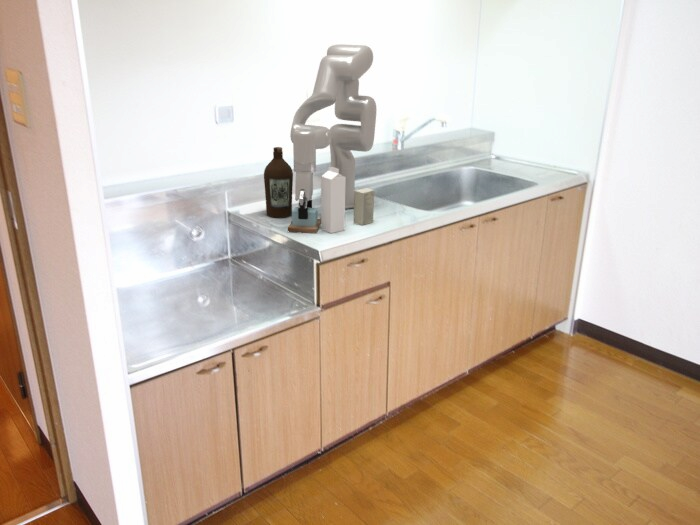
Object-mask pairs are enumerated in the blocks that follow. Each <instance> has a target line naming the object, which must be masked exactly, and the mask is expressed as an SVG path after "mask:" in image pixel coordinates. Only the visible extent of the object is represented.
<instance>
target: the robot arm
mask: <svg viewBox="0 0 700 525" xmlns="http://www.w3.org/2000/svg"><path fill="white" fill-rule="evenodd" d="M373 62H374V53H373V50H372V49H371V47H370V46H367V45H361V44H360V45H359V44H334V45H333V44H332V45H330V46H329V47H328V48H327V50H326V55H325V56H323V57H322V59H321V60H320V62H319V66H318V69H317V74H316V78H315V82H314V86H313V91H312V94H311V96H309V97H308V98H307V99H306V100H305V101H304V102H303V103H302V104H301V105H300V106H299V107H298V109H297V110H296V112H295V113H294V116H293V119H292V122H291V123H292V124H291V128H290V136H289V137H290V141H291V142H292V144H293V147H292V148H293V149H292V150H293V151H292V152H293V173H294V172H295V189H294V190H295V194H294V195H295V198H294V200H295V201H296V202H298V206H297V207H298V218H299V219H308V208H307V207H310V208H313V200H312V198H313V197H312V196H313V194H314V173H315V172H317V155H316V154H317V150H321V149H322V150H323V149H326V148H327V147H329V149H330V150H329V151H330V166H331V167H334V168H337V169H339V174H341V175H342V176H344V177H346V184H345V210H347V209H354V191H355V190H356V189H355V187H356V186H355V183H356V181H355V180H356V179H355V178H356V160H355V157H354V155H353V153H352V151H354V152H364V153H365V152H369V151H371V150H372V148H373V146H374V141H375V132H376V122H377V104H376V101H375V99H374V98H373V97H372V96H369V95H360V94H359V88H360V82H359V81H360V80H359V79H360V78H362V76H364V75H365V74H366V73H367V72H368V71H369V70H370V68H371V67H372V65H373ZM333 105H334V115H335V117H336V118H337V119H338V120H341V121H348V122H350V121H351V122H360V125H359V124H357V125H356V124H347V123H337V124H334V125H332V126H330V128H328V127H326V126H321V125H312V124H306V122H307V120H308V119H309V118H310V117H311V116H312V115H313V114H314V113H315V114H316V112H318V111H321V110H322V109H323V110H324V109H325V108H328V107H331V106H333Z"/></svg>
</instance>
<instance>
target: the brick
mask: <svg viewBox="0 0 700 525" xmlns="http://www.w3.org/2000/svg"><path fill="white" fill-rule="evenodd" d="M307 208H308V219H299V218H298V206H295V207H294V208H293V209H292V215H291V218H292V219H291V221H292V225H294V226H314V227H315V226H316V224H317V222H318V219H319V215H318V214H319V209H318V208H319V207H312V208H310V207H307Z"/></svg>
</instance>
